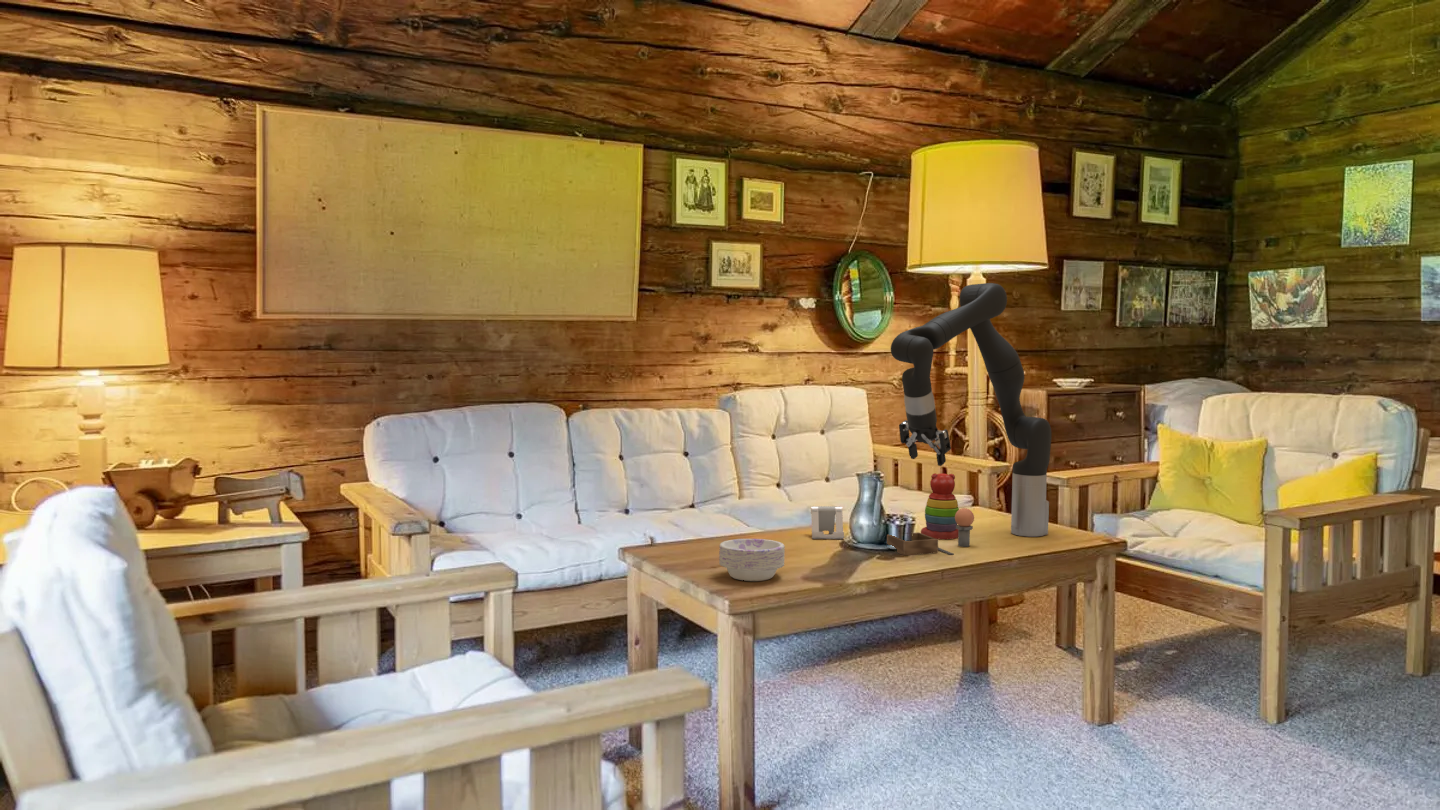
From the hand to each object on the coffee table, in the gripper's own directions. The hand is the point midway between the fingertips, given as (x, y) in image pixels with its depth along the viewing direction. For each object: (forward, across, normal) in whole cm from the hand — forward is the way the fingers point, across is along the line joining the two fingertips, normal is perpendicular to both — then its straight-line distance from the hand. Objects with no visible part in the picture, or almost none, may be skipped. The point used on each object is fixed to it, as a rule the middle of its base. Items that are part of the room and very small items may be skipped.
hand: (927, 461), depth 268 cm
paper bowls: (0, +6, +62) cm, 62 cm away
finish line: (+21, -5, +8) cm, 23 cm away
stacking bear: (+28, +3, -4) cm, 28 cm away
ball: (+17, -8, -2) cm, 19 cm away
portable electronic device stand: (+21, +24, +19) cm, 37 cm away
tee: (+24, -9, +1) cm, 25 cm away
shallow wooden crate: (+19, -2, +14) cm, 24 cm away
